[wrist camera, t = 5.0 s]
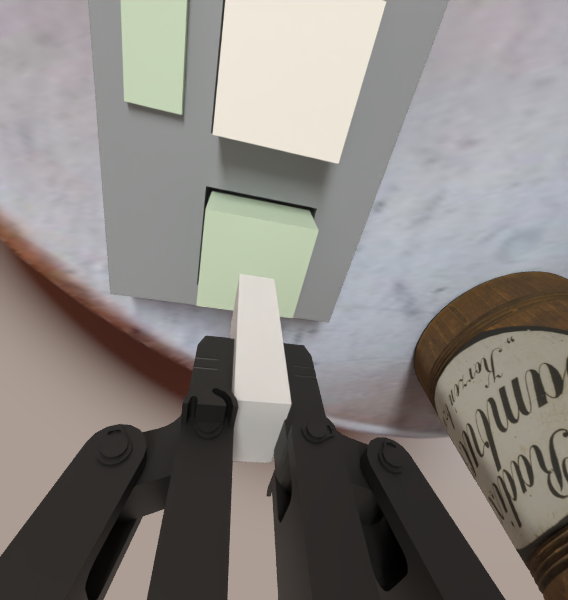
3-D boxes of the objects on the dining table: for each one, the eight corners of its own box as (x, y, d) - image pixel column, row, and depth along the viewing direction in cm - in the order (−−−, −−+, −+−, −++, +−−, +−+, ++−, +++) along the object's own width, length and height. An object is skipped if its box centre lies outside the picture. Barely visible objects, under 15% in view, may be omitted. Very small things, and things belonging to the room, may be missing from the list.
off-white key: (234, -26, 13) (230, -53, 10) (361, 16, 14) (386, 1, 11) (218, 126, 16) (212, 134, 13) (325, 151, 17) (338, 163, 14)
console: (88, -603, 8) (6, -951, 6) (533, -327, 11) (629, -467, 8) (126, 270, 22) (108, 297, 19) (320, 298, 25) (329, 325, 22)
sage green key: (211, 190, 17) (205, 209, 15) (309, 210, 18) (318, 230, 16) (202, 278, 20) (196, 305, 18) (287, 290, 21) (292, 318, 19)
